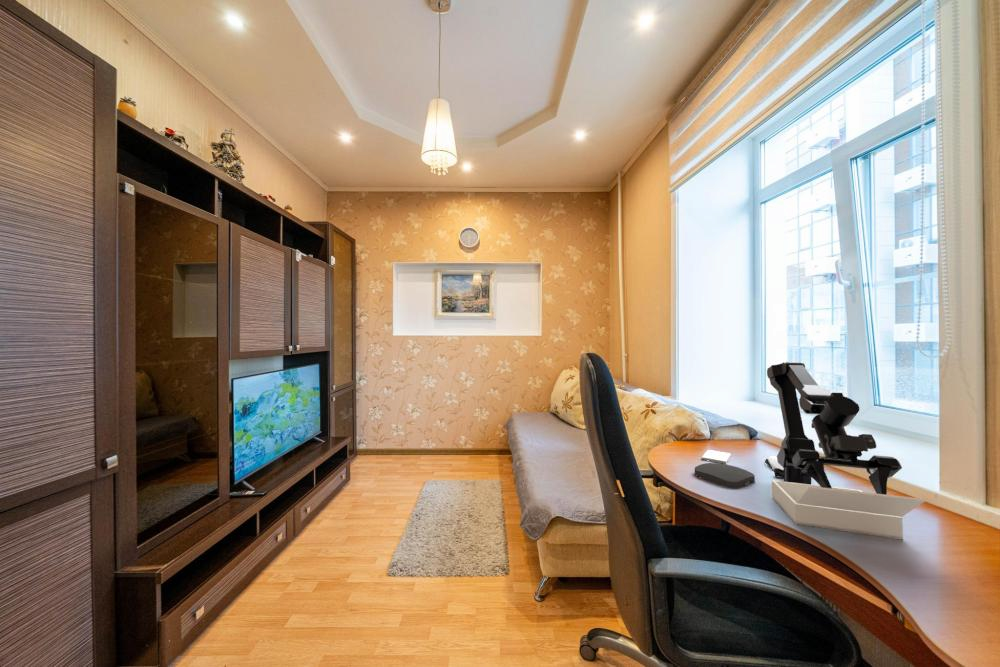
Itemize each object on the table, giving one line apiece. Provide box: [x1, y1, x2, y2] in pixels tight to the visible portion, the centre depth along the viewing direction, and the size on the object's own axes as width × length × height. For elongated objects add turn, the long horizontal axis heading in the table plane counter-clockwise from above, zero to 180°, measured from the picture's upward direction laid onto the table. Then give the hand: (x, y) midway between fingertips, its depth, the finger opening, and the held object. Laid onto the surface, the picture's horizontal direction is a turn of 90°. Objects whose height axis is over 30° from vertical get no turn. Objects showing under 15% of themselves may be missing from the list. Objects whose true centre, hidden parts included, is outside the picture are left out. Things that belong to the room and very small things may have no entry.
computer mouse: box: [764, 455, 784, 479], centre depth 125 cm, size 10×18×4 cm, turn 163°
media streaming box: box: [694, 462, 756, 489], centre depth 118 cm, size 15×15×3 cm
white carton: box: [771, 479, 904, 540], centre depth 92 cm, size 16×20×5 cm
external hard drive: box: [700, 449, 732, 465], centre depth 138 cm, size 2×8×12 cm
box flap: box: [796, 486, 926, 518], centre depth 81 cm, size 1×20×10 cm
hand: (857, 499), depth 80 cm, fingers open, 9 cm apart
